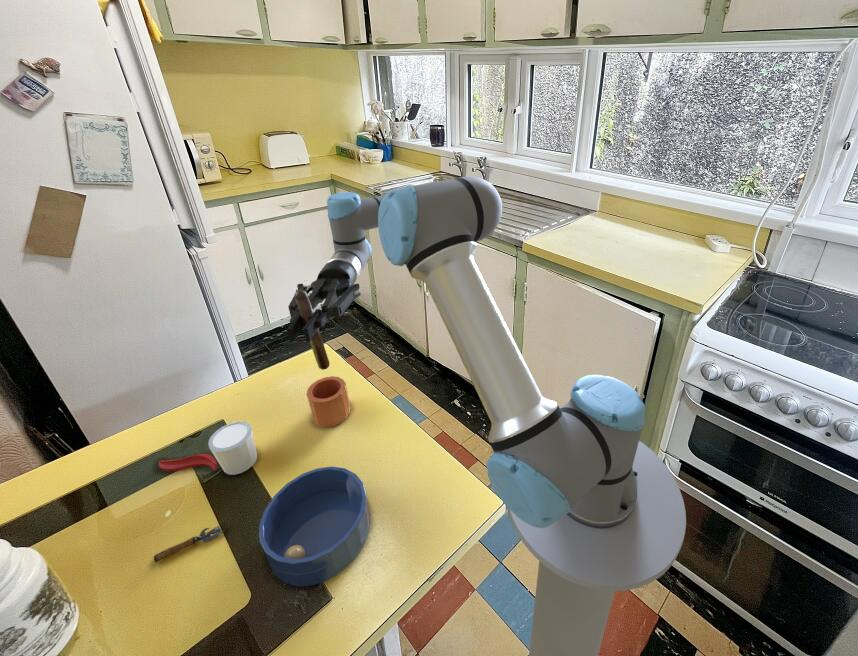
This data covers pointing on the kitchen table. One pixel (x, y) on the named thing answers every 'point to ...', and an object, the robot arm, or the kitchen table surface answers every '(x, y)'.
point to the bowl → (316, 525)
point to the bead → (295, 552)
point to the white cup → (234, 447)
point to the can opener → (188, 543)
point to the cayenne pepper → (188, 462)
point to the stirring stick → (316, 341)
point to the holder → (328, 401)
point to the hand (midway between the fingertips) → (298, 335)
